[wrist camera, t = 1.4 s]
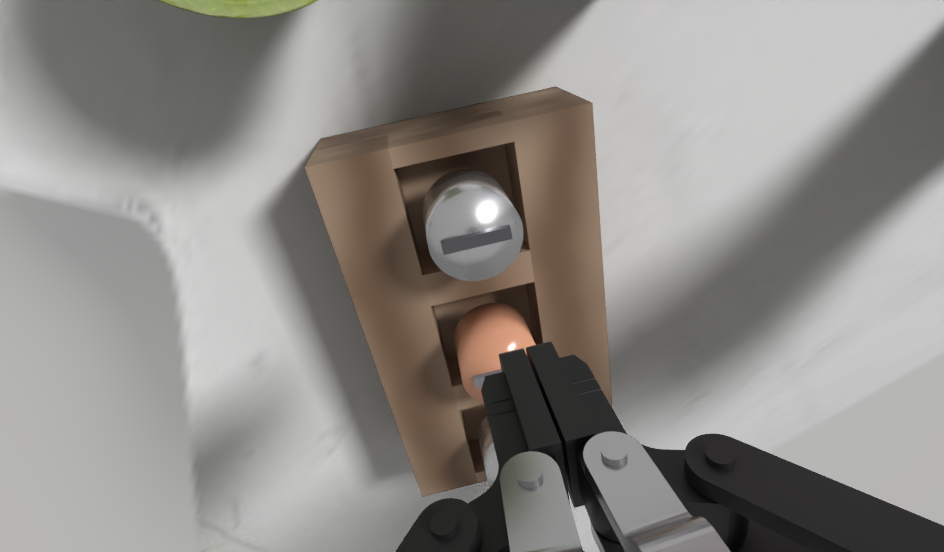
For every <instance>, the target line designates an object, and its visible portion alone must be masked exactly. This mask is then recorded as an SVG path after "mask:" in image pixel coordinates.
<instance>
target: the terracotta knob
mask: <svg viewBox="0 0 944 552" xmlns="http://www.w3.org/2000/svg"><path fill="white" fill-rule="evenodd" d="M454 342H455V347H456V352H457V357H458V362H459V368H460V373H461V378H462V383H463V386H464V388H465V390H466V391H467V393H468V394H469V395H470V396H471V397H472V398H474V399H475V400H477V401H479V402H482V403H484V401H483V397H482V393H481V388H482V385H483V382H484V379H485V376H488V375H492V374H496V373H500V372H502V370H501V365H500V360H499V354H501V353H505V352H509V351H513V350H517V349H522V348H523V349H524V350H525V353H526V347H529V346H534V345H536V344H535V342H534V340H533V337H532V335H531V333H530V331H529V328H528V326H527V324H526V321H525V319H524V317H523V316H522V314H521V313H520V312H519V311H518V310H516V309H515V308H513V307H511V306H509V305H506V304H502V303H488V304H483V305H480V306H477V307H475V308H473V309H471V310H470V311H469V312H467V313H466V314H465V315H464V316H463V317H462V318H461V319H460V321H459V322H458V324H457V326H456V329H455V333H454Z"/></svg>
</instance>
